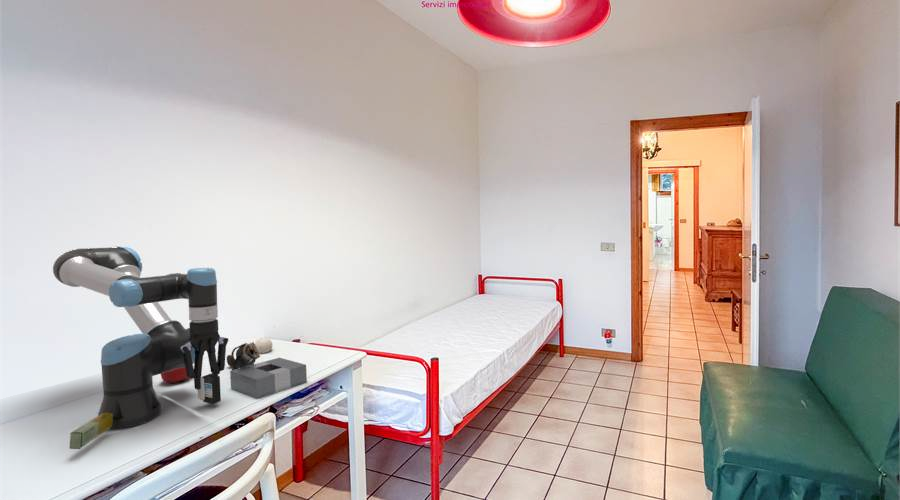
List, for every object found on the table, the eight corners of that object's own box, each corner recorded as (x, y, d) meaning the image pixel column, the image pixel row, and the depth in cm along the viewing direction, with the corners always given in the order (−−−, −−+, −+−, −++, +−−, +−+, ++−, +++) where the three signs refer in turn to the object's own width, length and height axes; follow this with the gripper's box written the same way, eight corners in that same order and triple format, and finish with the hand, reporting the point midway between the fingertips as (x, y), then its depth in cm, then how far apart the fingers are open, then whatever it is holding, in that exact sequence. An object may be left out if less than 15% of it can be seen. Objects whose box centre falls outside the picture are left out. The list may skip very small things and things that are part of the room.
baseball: (251, 354, 191) (250, 338, 191) (267, 350, 197) (266, 335, 196) (259, 357, 187) (258, 341, 186) (275, 353, 192) (274, 337, 192)
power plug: (235, 373, 163) (248, 347, 160) (250, 386, 161) (263, 359, 158) (223, 378, 158) (236, 351, 155) (237, 392, 156) (251, 364, 153)
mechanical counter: (253, 372, 167) (252, 345, 166) (219, 372, 167) (217, 346, 166) (261, 366, 174) (260, 340, 173) (229, 366, 174) (227, 341, 174)
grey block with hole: (257, 398, 140) (256, 379, 139) (231, 388, 149) (230, 370, 149) (306, 382, 154) (306, 364, 154) (280, 373, 164) (279, 357, 163)
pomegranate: (199, 377, 162) (198, 351, 162) (171, 386, 153) (170, 359, 153) (182, 373, 167) (181, 348, 166) (154, 382, 158) (153, 356, 158)
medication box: (80, 449, 110) (81, 433, 109) (68, 449, 109) (69, 432, 109) (113, 426, 122) (113, 412, 121) (102, 426, 121) (102, 411, 121)
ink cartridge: (202, 402, 135) (201, 375, 134) (209, 399, 137) (208, 373, 136) (214, 404, 132) (212, 377, 132) (220, 401, 135) (219, 375, 134)
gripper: (181, 326, 126) (184, 408, 127) (235, 316, 138) (238, 392, 140) (169, 323, 130) (173, 402, 132) (223, 314, 143) (226, 387, 144)
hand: (207, 397), depth 136 cm, fingers closed on ink cartridge, 2 cm apart
